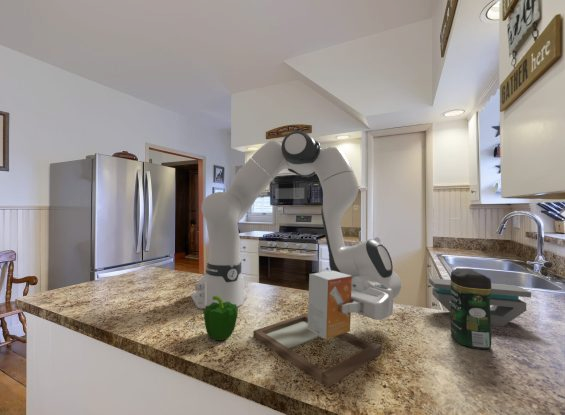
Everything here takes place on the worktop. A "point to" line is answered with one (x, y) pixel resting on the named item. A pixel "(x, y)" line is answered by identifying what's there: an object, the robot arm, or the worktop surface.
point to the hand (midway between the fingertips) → (327, 303)
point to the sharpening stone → (501, 298)
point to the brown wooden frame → (297, 333)
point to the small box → (328, 303)
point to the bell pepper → (220, 319)
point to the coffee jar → (471, 308)
